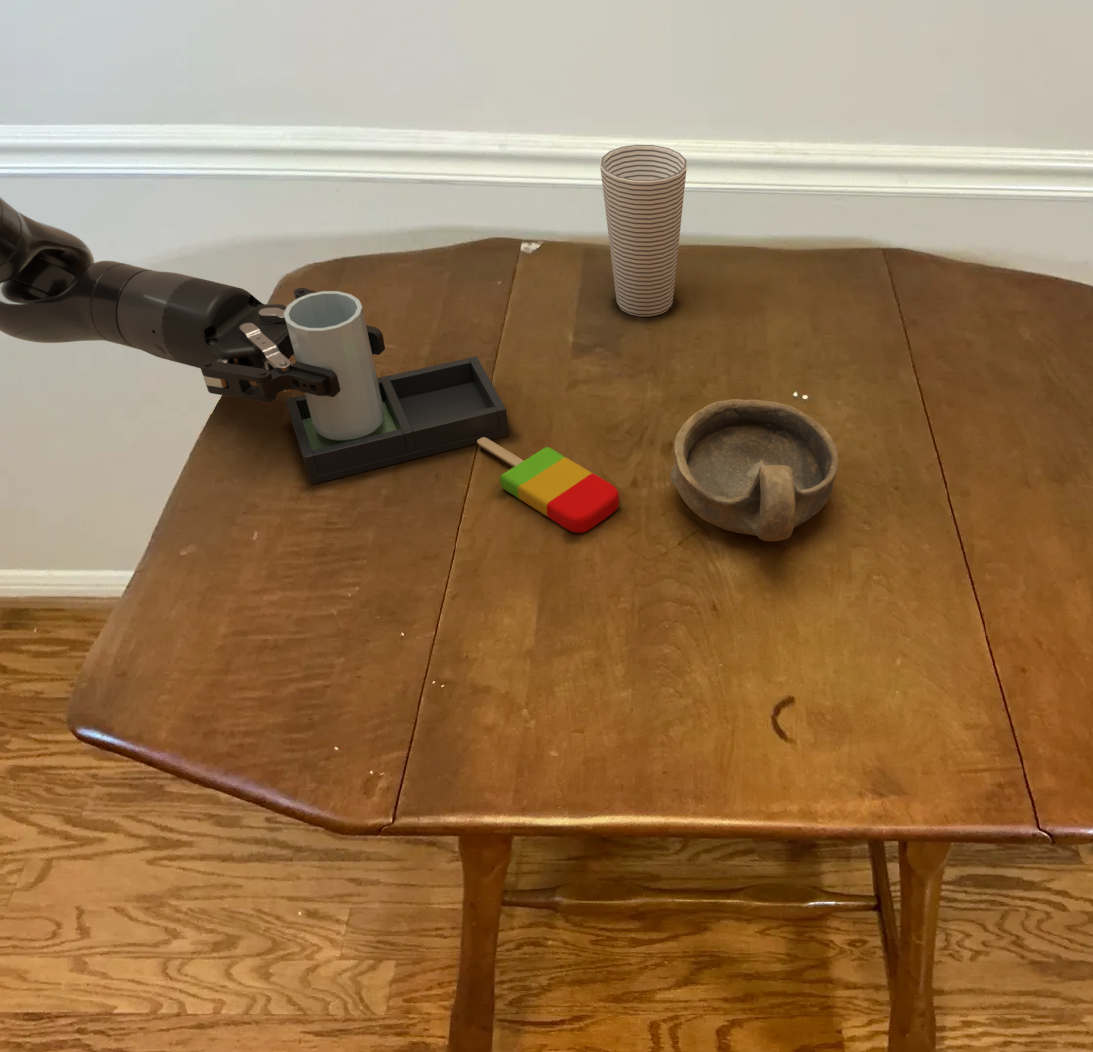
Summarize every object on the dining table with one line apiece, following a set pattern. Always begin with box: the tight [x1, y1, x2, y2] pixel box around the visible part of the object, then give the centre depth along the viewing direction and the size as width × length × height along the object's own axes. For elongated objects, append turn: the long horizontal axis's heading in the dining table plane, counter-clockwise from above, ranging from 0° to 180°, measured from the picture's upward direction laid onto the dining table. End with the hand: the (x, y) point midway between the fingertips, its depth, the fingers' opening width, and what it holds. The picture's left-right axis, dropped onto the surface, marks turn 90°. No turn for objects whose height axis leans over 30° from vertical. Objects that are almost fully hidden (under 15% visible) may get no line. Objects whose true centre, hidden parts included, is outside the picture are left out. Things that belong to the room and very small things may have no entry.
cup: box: [599, 144, 688, 317], centre depth 109 cm, size 8×8×16 cm
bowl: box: [669, 398, 840, 542], centre depth 86 cm, size 14×18×10 cm
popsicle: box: [477, 437, 620, 534], centre depth 91 cm, size 6×15×2 cm, turn 50°
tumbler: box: [284, 290, 384, 441], centre depth 90 cm, size 6×6×11 cm
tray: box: [285, 355, 510, 485], centre depth 96 cm, size 17×9×3 cm, turn 115°
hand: (359, 363), depth 89 cm, fingers closed on tumbler, 6 cm apart
